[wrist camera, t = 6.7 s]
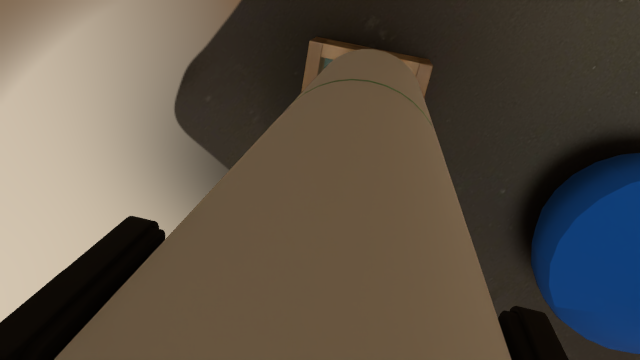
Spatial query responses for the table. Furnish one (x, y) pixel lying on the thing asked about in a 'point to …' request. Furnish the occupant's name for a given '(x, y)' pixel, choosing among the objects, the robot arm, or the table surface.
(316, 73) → the square wooden tray
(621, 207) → the vase
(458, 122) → the table surface
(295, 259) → the cylindrical container
